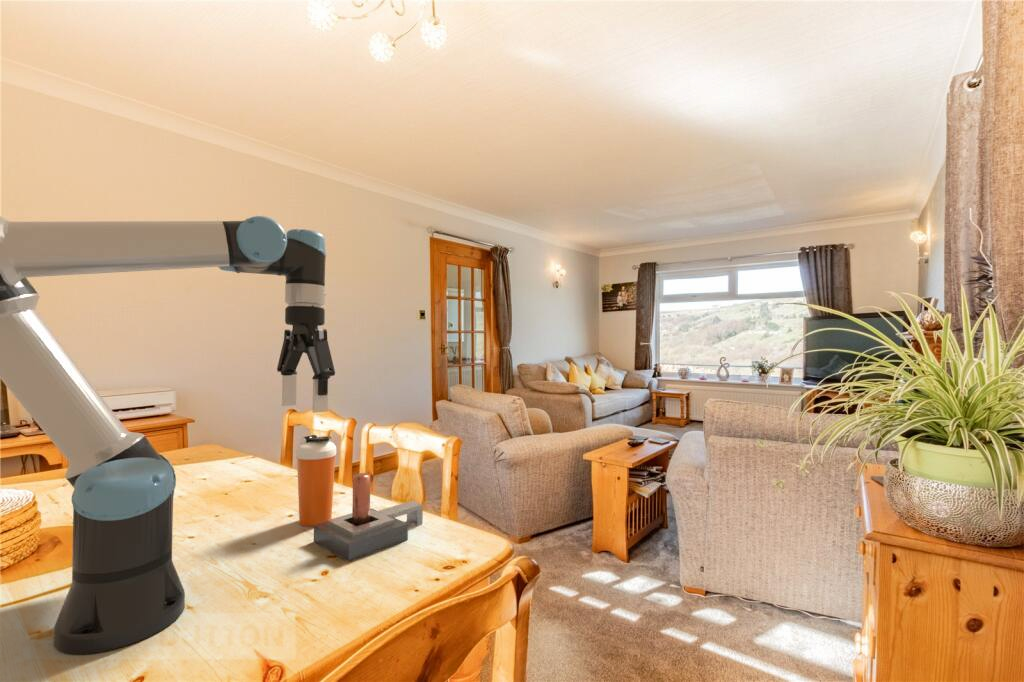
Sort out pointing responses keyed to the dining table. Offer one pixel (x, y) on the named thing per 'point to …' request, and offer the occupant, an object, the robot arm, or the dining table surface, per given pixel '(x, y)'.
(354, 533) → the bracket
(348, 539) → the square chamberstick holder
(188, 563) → the dining table surface
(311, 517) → the shaker bottle
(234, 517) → the dining table surface
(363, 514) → the copper cylinder
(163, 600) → the robot arm
